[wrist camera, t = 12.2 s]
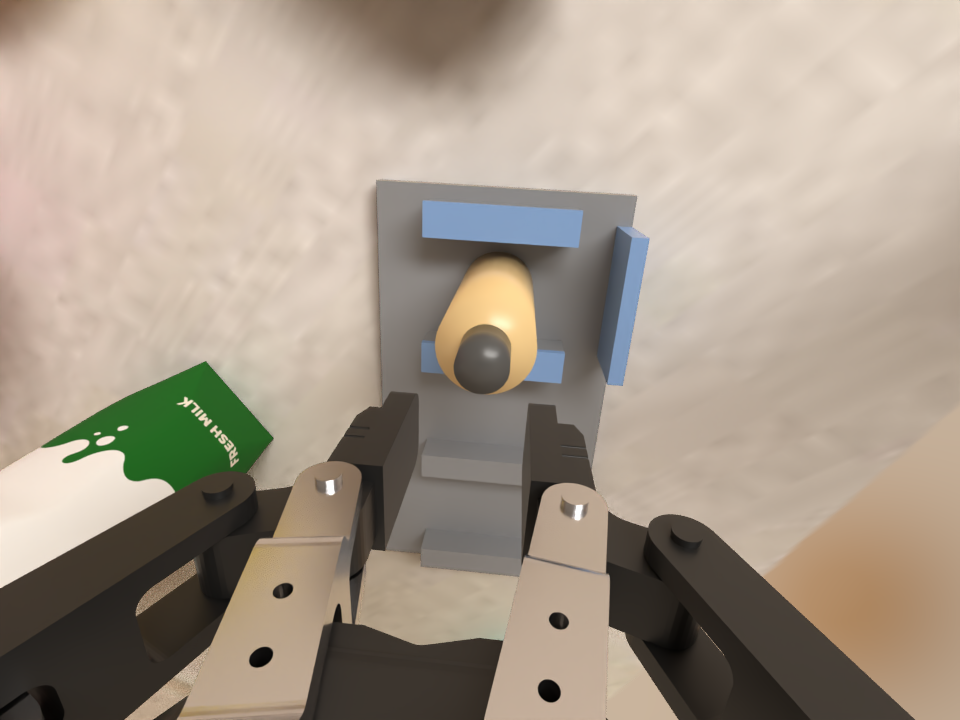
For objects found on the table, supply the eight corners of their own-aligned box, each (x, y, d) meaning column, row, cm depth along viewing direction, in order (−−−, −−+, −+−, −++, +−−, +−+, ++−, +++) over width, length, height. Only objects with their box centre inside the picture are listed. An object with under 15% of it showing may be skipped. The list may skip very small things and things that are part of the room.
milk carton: (120, 404, 35) (-331, 680, 16) (207, 342, 32) (-208, 584, 14) (206, 492, 37) (-103, 819, 19) (293, 441, 35) (37, 758, 16)
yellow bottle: (536, 253, 28) (544, 319, 16) (529, 321, 29) (533, 423, 18) (465, 249, 28) (426, 310, 17) (462, 316, 29) (425, 413, 18)
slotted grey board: (633, 194, 27) (656, 202, 22) (573, 558, 37) (580, 616, 32) (381, 179, 28) (352, 183, 23) (389, 540, 38) (370, 593, 33)
